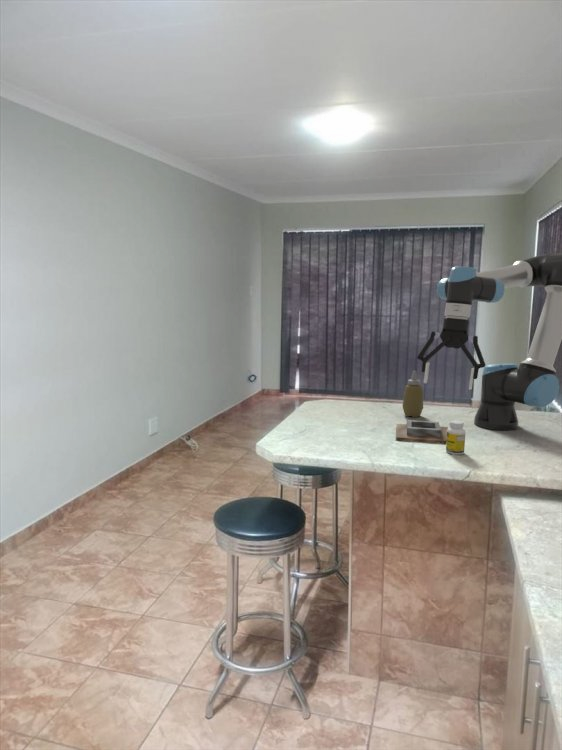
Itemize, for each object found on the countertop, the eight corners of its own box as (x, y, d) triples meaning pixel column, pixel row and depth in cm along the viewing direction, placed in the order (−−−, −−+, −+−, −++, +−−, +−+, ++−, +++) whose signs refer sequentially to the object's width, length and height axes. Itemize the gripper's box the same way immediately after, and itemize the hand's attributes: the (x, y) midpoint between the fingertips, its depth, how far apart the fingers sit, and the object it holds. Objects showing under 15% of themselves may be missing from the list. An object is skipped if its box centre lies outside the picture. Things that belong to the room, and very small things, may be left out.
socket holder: (447, 429, 192) (448, 420, 191) (452, 444, 174) (452, 433, 174) (396, 426, 196) (396, 417, 195) (395, 440, 178) (396, 429, 178)
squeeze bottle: (425, 418, 208) (427, 372, 204) (404, 418, 208) (406, 372, 205) (420, 413, 215) (422, 369, 212) (400, 413, 216) (402, 369, 213)
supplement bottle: (442, 450, 168) (444, 420, 166) (457, 449, 169) (459, 419, 167) (451, 455, 162) (453, 424, 161) (467, 454, 164) (469, 423, 162)
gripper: (413, 313, 166) (405, 381, 168) (499, 321, 156) (489, 393, 158) (417, 314, 172) (409, 379, 175) (500, 322, 163) (490, 390, 165)
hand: (447, 386), depth 167 cm, fingers open, 13 cm apart
